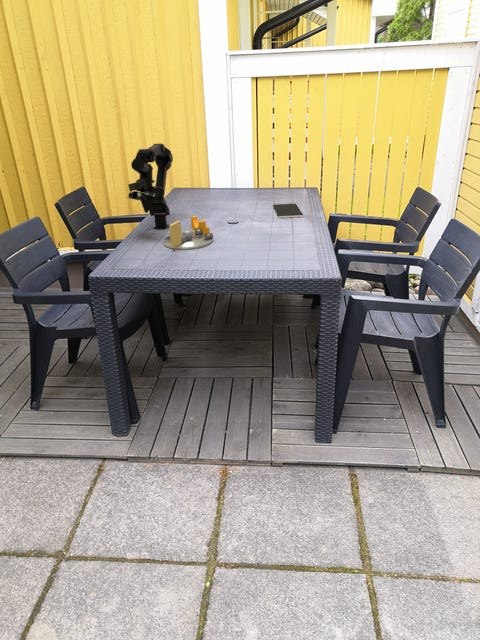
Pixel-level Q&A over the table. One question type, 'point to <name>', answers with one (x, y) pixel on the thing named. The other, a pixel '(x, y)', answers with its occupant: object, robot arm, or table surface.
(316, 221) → the table surface
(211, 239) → the dial plate
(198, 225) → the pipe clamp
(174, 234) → the tan upright panel
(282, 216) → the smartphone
